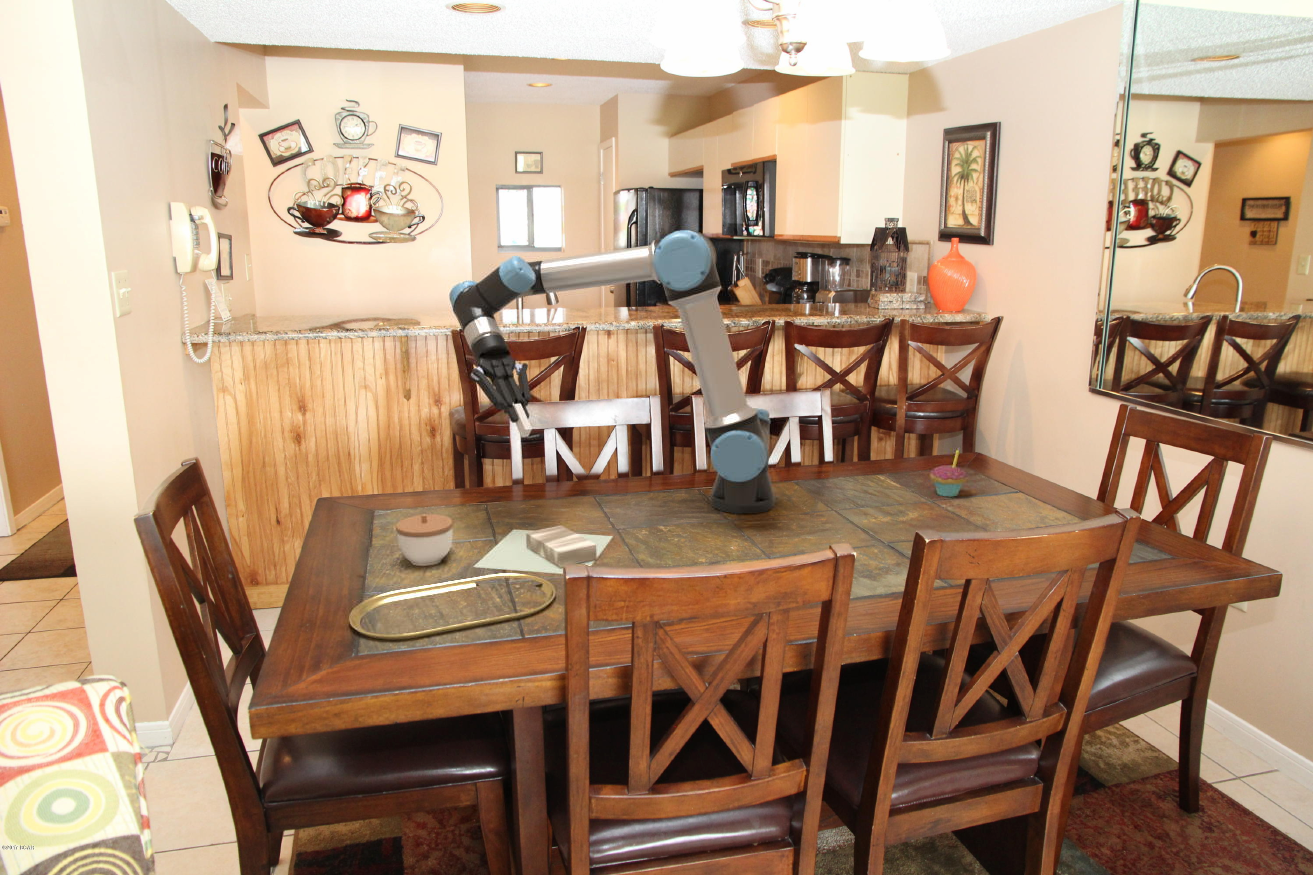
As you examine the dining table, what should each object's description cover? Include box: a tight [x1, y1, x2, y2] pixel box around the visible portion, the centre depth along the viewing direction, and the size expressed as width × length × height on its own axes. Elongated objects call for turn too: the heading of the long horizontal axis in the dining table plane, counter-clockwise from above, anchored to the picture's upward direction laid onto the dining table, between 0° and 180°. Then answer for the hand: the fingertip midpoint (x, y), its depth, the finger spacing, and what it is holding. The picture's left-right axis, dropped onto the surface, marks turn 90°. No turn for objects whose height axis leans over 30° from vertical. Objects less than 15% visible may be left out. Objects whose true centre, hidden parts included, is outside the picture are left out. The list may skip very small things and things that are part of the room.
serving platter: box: [348, 573, 556, 640], centre depth 154 cm, size 19×35×2 cm, turn 115°
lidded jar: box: [395, 513, 454, 567], centre depth 175 cm, size 11×11×9 cm
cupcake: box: [929, 447, 968, 498], centre depth 217 cm, size 9×8×12 cm
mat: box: [473, 529, 614, 575], centre depth 180 cm, size 22×22×1 cm
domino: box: [526, 525, 598, 568], centre depth 178 cm, size 3×8×14 cm
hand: (526, 433), depth 183 cm, fingers closed
